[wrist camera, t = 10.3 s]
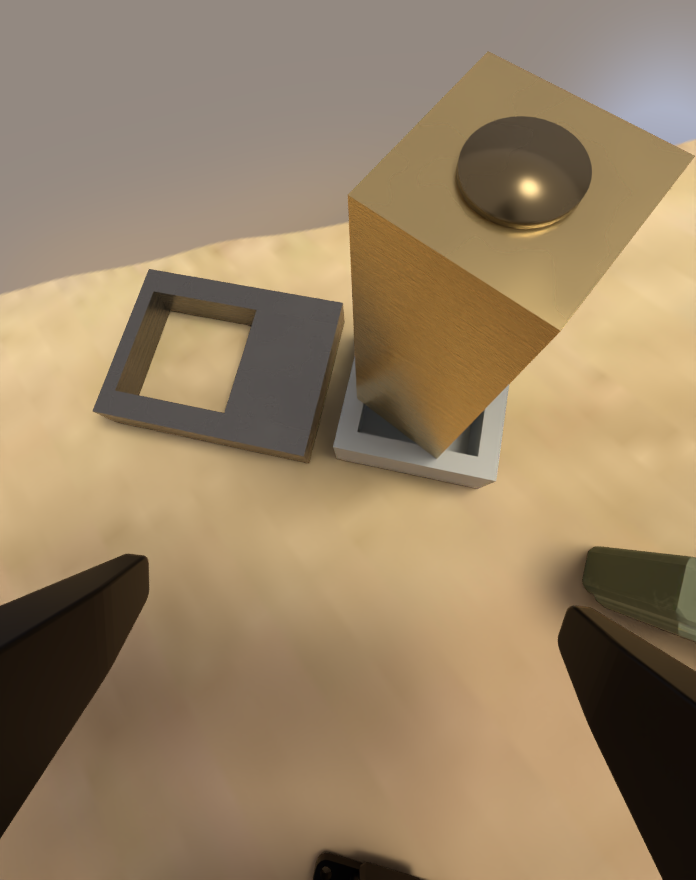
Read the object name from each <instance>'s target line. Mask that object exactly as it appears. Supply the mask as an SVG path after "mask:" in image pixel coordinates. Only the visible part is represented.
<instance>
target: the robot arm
mask: <svg viewBox="0 0 696 880" xmlns="http://www.w3.org/2000/svg"><path fill="white" fill-rule="evenodd" d="M148 594H149V563H148V559H147V557H146V556H144V555H135V554H124V555H122V556H119V557H117V558H115V559H112V560H110V561H107V562H105V563H102V564H100V565H98V566H95V567H93V568H90V569H88V570H86V571H83V572H81V573H78V574H76V575H73V576H71V577H69V578H66V579H64V580H61V581H59V582H57V583H54V584H52V585H49V586H47V587H45V588H42V589H40V590H37V591H35V592H32V593H30V594H28V595H25V596H23V597H20V598H18V599H16V600H13V601H11V602H8V603H6V604H3V605H1V606H0V838H1V837H2V835H3V834H4V832H5V831H6V829H7V828H8V826H9V825H10V823H11V821H12V820H13V818H14V817H15V815H16V814H17V812H18V811H19V809H20V808H21V806H22V805H23V803H24V802H25V800H26V799H27V797H28V795H29V794H30V792H31V791H32V789H33V788H34V786H35V785H36V783H37V782H38V780H39V779H40V777H41V776H42V774H43V772H44V771H45V769H46V768H47V766H48V765H49V763H50V762H51V760H52V759H53V757H54V756H55V754H56V753H57V751H58V749H59V748H60V746H61V745H62V743H63V742H64V740H65V739H66V737H67V736H68V734H69V733H70V731H71V730H72V728H73V727H74V725H75V723H76V722H77V720H78V719H79V717H80V716H81V714H82V713H83V711H84V710H85V708H86V707H87V705H88V704H89V702H90V700H91V699H92V697H93V696H94V694H95V693H96V691H97V690H98V688H99V687H100V685H101V684H102V682H103V680H104V679H105V677H106V675H107V674H108V672H109V670H110V669H111V667H112V665H113V663H114V661H115V660H116V658H117V656H118V654H119V652H120V650H121V648H122V646H123V644H124V642H125V641H126V639H127V637H128V635H129V633H130V631H131V629H132V627H133V625H134V623H135V621H136V620H137V618H138V616H139V614H140V612H141V610H142V608H143V606H144V604H145V602H146V600H147V598H148ZM558 646H559V650H560V653H561V655H562V658H563V660H564V663H565V666H566V668H567V671H568V673H569V676H570V679H571V681H572V684H573V687H574V689H575V692H576V694H577V697H578V700H579V702H580V705H581V708H582V710H583V713H584V715H585V718H586V720H587V722H588V725H589V727H590V729H591V732H592V734H593V736H594V738H595V740H596V742H597V744H598V747H599V749H600V751H601V753H602V755H603V757H604V759H605V761H606V763H607V765H608V767H609V769H610V771H611V773H612V776H613V778H614V780H615V782H616V784H617V786H618V788H619V790H620V792H621V794H622V796H623V798H624V800H625V803H626V805H627V807H628V809H629V811H630V813H631V815H632V817H633V819H634V821H635V823H636V825H637V827H638V829H639V832H640V834H641V836H642V838H643V840H644V842H645V844H646V846H647V848H648V850H649V852H650V854H651V856H652V859H653V861H654V863H655V865H656V867H657V869H658V871H659V873H660V875H661V877H662V879H663V880H696V671H694V670H693V669H691V668H689V667H688V666H686V665H684V664H683V663H681V662H680V661H678V660H676V659H675V658H673V657H671V656H670V655H668V654H666V653H665V652H663V651H662V650H660V649H658V648H657V647H655V646H653V645H652V644H650V643H648V642H647V641H645V640H644V639H642V638H640V637H639V636H637V635H635V634H634V633H632V632H630V631H629V630H627V629H625V628H624V627H622V626H621V625H619V624H617V623H616V622H614V621H612V620H611V619H609V618H607V617H606V616H604V615H603V614H601V613H599V612H598V611H596V610H594V609H592V608H590V607H583V606H570V607H569V608H568V609H567V611H566V614H565V617H564V620H563V623H562V626H561V629H560V632H559V635H558ZM323 867H329V868H330V869H331V871H330V872H329V873H325V872H323V871H322V868H323ZM313 880H420V879H419V878H417V877H414V876H411V875H408V874H404V873H401V872H398V871H395V870H391V869H388V868H385V867H382V866H378V865H375V864H372V863H368V862H366V863H361V862H358V861H355V860H351V859H348V858H345V857H342V856H338V855H335V854H332V853H326V852H325V853H323V854H321V855H320V856H319V857H318V859H317V861H316V865H315V870H314V875H313Z"/></svg>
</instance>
